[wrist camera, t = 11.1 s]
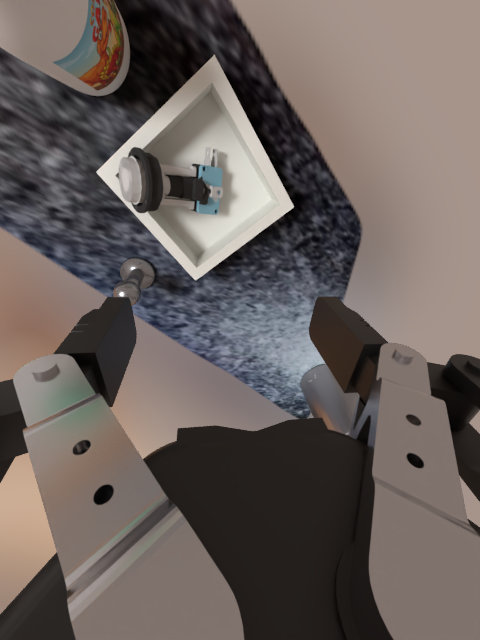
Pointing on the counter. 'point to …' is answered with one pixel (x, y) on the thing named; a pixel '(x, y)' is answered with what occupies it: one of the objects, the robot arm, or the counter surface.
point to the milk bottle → (69, 41)
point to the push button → (170, 183)
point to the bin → (232, 157)
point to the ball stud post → (134, 279)
